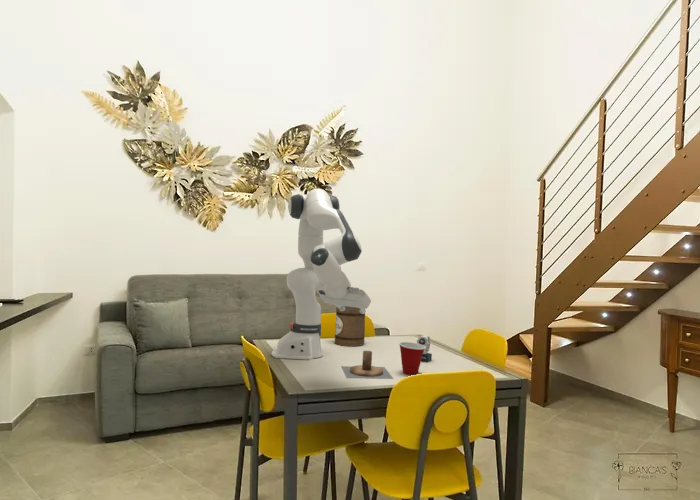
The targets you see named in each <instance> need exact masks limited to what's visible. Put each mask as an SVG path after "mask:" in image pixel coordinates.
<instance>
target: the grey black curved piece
mask: <svg viewBox="0 0 700 500" xmlns="http://www.w3.org/2000/svg"><path fill="white" fill-rule="evenodd" d="M416 343H417V344H421V345H424V346H425V347H426V348H425V349H424V352H423V354H422V358H421V362H424V363H429V362H432V355H433V354H432V353H431V352H430V353H429V351H430V347H431V338H430V336H429V335H421V336H420V337H419V338H418V339H417V340H416Z"/></svg>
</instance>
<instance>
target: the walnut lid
mask: <svg viewBox="0 0 700 500" xmlns="http://www.w3.org/2000/svg"><path fill="white" fill-rule="evenodd" d="M372 361H373V351H372V350H363V351H362V364H361V365H360V364H359V365H352V367H351V368H350V372H351V373H352V374H355V375H359V376H367V377H374V376H380V375H382V374H383V369H381V368H379V367H380V366H374V365H372V364H373V363H372Z"/></svg>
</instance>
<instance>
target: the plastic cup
mask: <svg viewBox="0 0 700 500" xmlns="http://www.w3.org/2000/svg"><path fill="white" fill-rule="evenodd" d="M398 345H399V350H400V357H401V358H400V359H401V365H402V366H401V369H402V373H403V374H404V375H408V376H409V375H411V376H413V375H412V374H416V375H418V374H419V370H420V366H421V362H422V361H421V358H422V354H423V352H424V349H425V348H426V347H425V346H424V345H421V344H417V342H411V341H410V342H409V341H400V342H398Z"/></svg>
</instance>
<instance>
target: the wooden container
mask: <svg viewBox="0 0 700 500" xmlns="http://www.w3.org/2000/svg"><path fill="white" fill-rule="evenodd" d="M335 307H336V306H335ZM345 308H346V309H345V311H340V309H339V308H337V307H336V309H335V310H336V314H335V325H334V328H335V329H334V344H336V345H338V346H344V347H362V346H363V345H365V332H366V313H365V314H361V313H360V312H359V310H360V308H357V307H349V306H345Z"/></svg>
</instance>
